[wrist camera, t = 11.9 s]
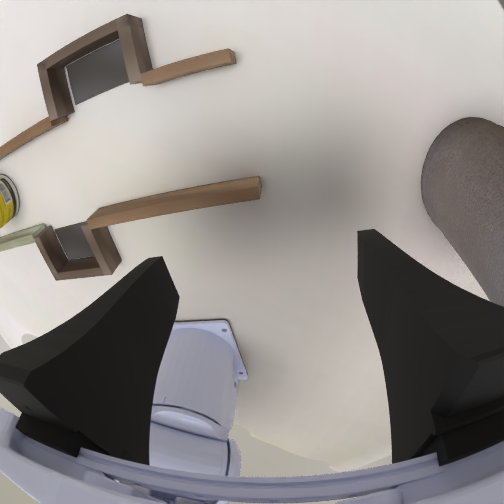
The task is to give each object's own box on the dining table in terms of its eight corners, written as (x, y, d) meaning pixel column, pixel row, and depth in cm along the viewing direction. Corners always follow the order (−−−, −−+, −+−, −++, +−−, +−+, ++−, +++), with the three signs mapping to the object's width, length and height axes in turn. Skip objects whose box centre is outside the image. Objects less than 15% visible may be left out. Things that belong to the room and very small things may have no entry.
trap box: (271, 241, 22) (270, 257, 20) (5, 276, 27) (-4, 286, 25) (220, -7, 13) (213, -16, 11) (-49, 148, 18) (-61, 155, 16)
